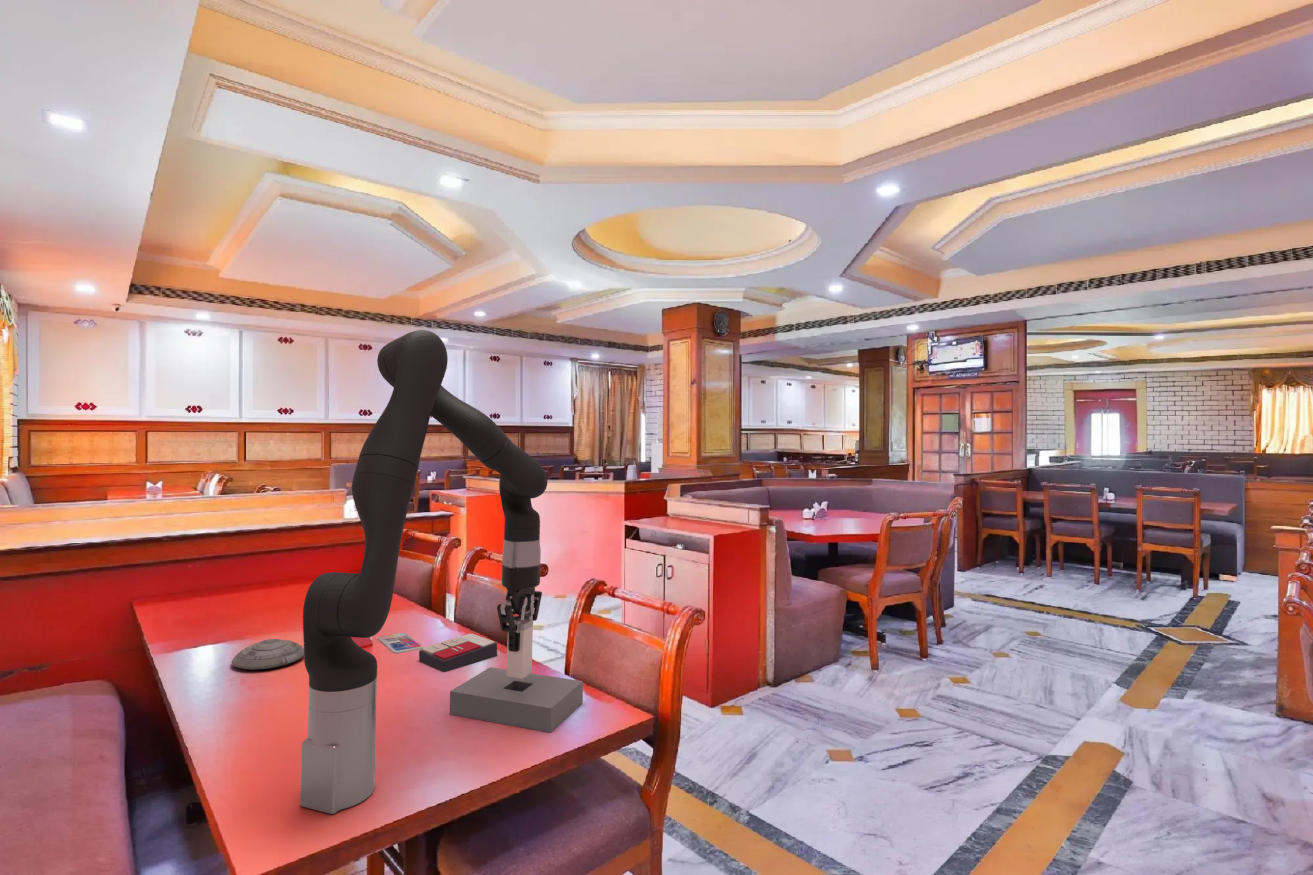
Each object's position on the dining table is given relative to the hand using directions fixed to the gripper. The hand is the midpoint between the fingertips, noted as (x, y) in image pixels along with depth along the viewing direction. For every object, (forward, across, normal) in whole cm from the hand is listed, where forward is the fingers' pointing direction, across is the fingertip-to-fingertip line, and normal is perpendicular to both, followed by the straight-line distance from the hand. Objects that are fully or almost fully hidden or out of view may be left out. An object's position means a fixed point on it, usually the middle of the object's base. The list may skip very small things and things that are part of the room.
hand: (519, 647), depth 126 cm
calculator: (+13, -20, -28) cm, 37 cm away
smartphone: (+13, -24, -49) cm, 56 cm away
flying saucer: (+13, -2, -68) cm, 69 cm away
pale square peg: (+5, 0, 0) cm, 5 cm away
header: (+12, 0, 0) cm, 12 cm away
